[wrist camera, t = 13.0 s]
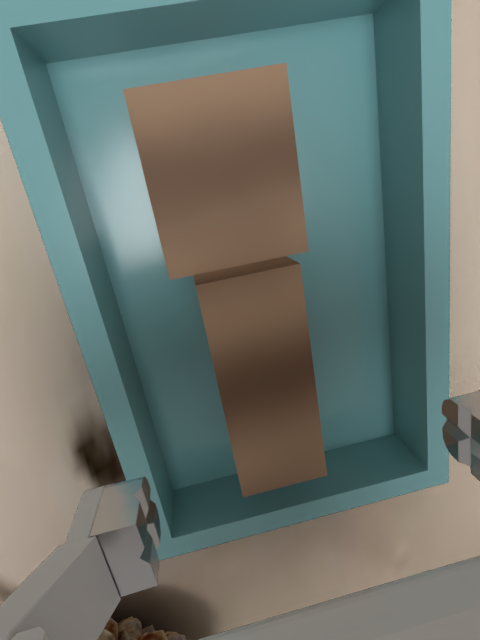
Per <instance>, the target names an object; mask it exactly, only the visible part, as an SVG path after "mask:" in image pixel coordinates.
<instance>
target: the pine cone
mask: <svg viewBox="0 0 480 640" xmlns="http://www.w3.org/2000/svg"><path fill="white" fill-rule="evenodd" d="M97 640H186V638H185V635H178V633H177V632H168V631H167V632H166V633H165V632H164V631H163V630H159V631H155V630H154V627H153V625H150V626H148V627H145V628H143V629H142V626H141V621H139V620H138V619H137V618H135V619H134V618H133V616H132V617H129V618H127V619H124V620H122V621H120V622H119V623H117V622H116V621H114V620H113V619H112V618H111V617H110V619H109V621H108V622H107V624H106V626H105V627H104V629H103V631H102V633H101V634H100V636H99V638H98V639H97Z"/></svg>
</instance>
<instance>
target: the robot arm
mask: <svg viewBox="0 0 480 640" xmlns="http://www.w3.org/2000/svg"><path fill="white" fill-rule="evenodd" d="M442 414H443V415H444V416H445V417H446V418H447V420H446V422H445V424H444V425H443V427H442V434H443V440H444V443H445V445H446V448H447V449H448V451H449V452H450V454H451V455H452V456H453V457H454V458H455V459H456V460H457V461H458V462H460V463H463V464H466V465H469V466H470V468H471V474H472V475H473V476H475V477H476V478H477V479H478V480H479V481H480V390H478V391H476V392H472V393H469V394H465V395H461V396H457V397H453V398H449V399H446V400H444V401H443V403H442ZM150 493H151V488H150V485H149V482H148V480H147V478H146V477H145V476H144V477H140V478H136V479H131V480H127V481H123V482H119V483H114V484H110V485H106V486H102V487H98V488H94V489H90V490H86V491H85V492H84V493H83V494H82V497H81V500H80V502H79V505H78V508H77V511H76V514H75V517H74V519H73V522H72V525H71V528H70V531H69V534H68V536H67V539H66V542H65V544H64V545H60V546H58V547H57V548H56V549H55V550H54V551H53V552H52V553H51V554H50V555H49V556H48V557H47V558H46V559H45V560H44V561H43V562H42V563H41V564H40V565H39V566H38V567H37V568H36V569H35V570H34V571H33V572H32V573H31V574H30V575H29V576H28V577H27V578H26V579H25V581H24V582H23V583H22V584H21V585H20V586H19V587H18V588H17V589H16V590H15V591H14V592H13V593H12V594H11V595H10V596H9V597H8V598H7V599H6V600H5V601H4V602H3V603H2V604H1V605H0V640H97V639H98V638H99V636H100V634H101V633H102V631H103V629H104V627H105V626H106V624H107V622H108V621H109V619H110V617H111V615H112V614H113V612H114V610H115V609H116V607H117V605H118V604H119V602H120V600H121V598H120V597H123V596H126V595H129V594H132V593H135V592H139V591H142V590H145V589H148V588H151V587H154V586H157V585H158V571H159V557H158V554H157V551H156V549H157V547H158V546H159V544H160V539H161V529H160V519H159V514H158V510H157V507H156V503H154V502H153V501H151V500H150ZM197 640H480V556H477V557H473V558H470V559H466V560H463V561H460V562H456V563H453V564H450V565H446V566H443V567H439V568H436V569H433V570H429V571H426V572H423V573H419V574H416V575H412V576H409V577H406V578H402V579H399V580H396V581H392V582H389V583H385V584H382V585H379V586H375V587H372V588H369V589H365V590H362V591H359V592H355V593H352V594H348V595H345V596H342V597H338V598H335V599H332V600H328V601H325V602H322V603H318V604H315V605H312V606H308V607H305V608H301V609H298V610H295V611H291V612H288V613H285V614H281V615H278V616H275V617H271V618H268V619H265V620H261V621H258V622H255V623H251V624H248V625H245V626H241V627H238V628H234V629H231V630H228V631H224V632H221V633H218V634H214V635H211V636H208V637H204V638H201V639H197Z"/></svg>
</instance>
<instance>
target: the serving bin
mask: <svg viewBox="0 0 480 640" xmlns="http://www.w3.org/2000/svg"><path fill="white" fill-rule="evenodd" d="M281 63H287V72H288V80H289V89H290V97H291V105H292V114H293V122H294V131H295V139H296V148H297V156H298V165H299V173H300V181H301V190H302V198H303V207H304V215H305V224H306V232H307V241H308V249H309V251H308V252H303V253H298V254H293V255H288V256H287V257H289V258H291V259H293V260H295V261H297V262H298V263H300V265H301V273H302V281H303V288H304V296H305V304H306V312H307V320H308V328H309V336H310V343H311V351H312V359H313V367H314V375H315V383H316V391H317V399H318V406H319V414H320V422H321V430H322V438H323V446H324V454H325V461H326V469H327V476H323V477H319V478H315V479H311V480H308V481H304V482H300V483H296V484H292V485H289V486H285V487H281V488H277V489H273V490H269V491H266V492H262V493H258V494H254V495H250V496H247V497H243V495H242V491H241V486H240V482H239V477H238V473H237V468H236V464H235V460H234V455H233V451H232V446H231V442H230V437H229V433H228V428H227V424H226V419H225V415H224V411H223V406H222V402H221V397H220V393H219V388H218V384H217V379H216V375H215V370H214V366H213V362H212V357H211V353H210V348H209V344H208V339H207V335H206V330H205V326H204V321H203V317H202V313H201V308H200V304H199V299H198V295H197V290H196V286H195V280H194V275H192V276H188V277H183V278H178V279H173V280H170V279H169V275H168V271H167V266H166V262H165V258H164V254H163V250H162V246H161V242H160V238H159V234H158V230H157V226H156V222H155V218H154V214H153V210H152V206H151V202H150V197H149V193H148V189H147V185H146V181H145V177H144V173H143V169H142V165H141V161H140V157H139V153H138V149H137V145H136V141H135V137H134V133H133V128H132V124H131V120H130V116H129V112H128V108H127V104H126V100H125V96H124V92H123V89H127V88H133V87H139V86H146V85H152V84H158V83H164V82H170V81H176V80H182V79H189V78H195V77H201V76H207V75H213V74H219V73H225V72H231V71H238V70H244V69H250V68H256V67H262V66H268V65H274V64H281ZM0 119H1V122H2V124H3V127H4V130H5V133H6V136H7V139H8V142H9V145H10V147H11V150H12V153H13V156H14V159H15V162H16V165H17V168H18V170H19V173H20V176H21V179H22V182H23V185H24V188H25V191H26V193H27V196H28V199H29V202H30V205H31V208H32V211H33V214H34V216H35V219H36V222H37V225H38V228H39V231H40V234H41V237H42V239H43V242H44V245H45V248H46V251H47V254H48V257H49V260H50V263H51V265H52V268H53V271H54V274H55V277H56V280H57V283H58V286H59V288H60V291H61V294H62V297H63V300H64V303H65V306H66V309H67V311H68V314H69V317H70V320H71V323H72V326H73V329H74V332H75V334H76V337H77V340H78V343H79V346H80V349H81V352H82V355H83V357H84V360H85V363H86V366H87V369H88V372H89V375H90V378H91V380H92V383H93V386H94V389H95V392H96V395H97V398H98V401H99V403H100V406H101V409H102V412H103V415H104V418H105V421H106V424H107V427H108V429H109V432H110V435H111V438H112V441H113V444H114V447H115V450H116V452H117V455H118V458H119V461H120V464H121V467H122V470H123V473H124V475H125V478H126V481H127V480H131V479H136V478H140V477H144V476H145V477H146V478H147V480H148V482H149V485H150V488H151V493H150V500H151V501H153V502H154V503H156V507H157V510H158V514H159V519H160V529H161V539H160V544H159V546H158V547H157V549H156V551H157V554H158V557H159V561H160V560H163V559H167V558H171V557H174V556H178V555H182V554H186V553H189V552H193V551H197V550H200V549H204V548H208V547H211V546H215V545H219V544H222V543H226V542H230V541H234V540H237V539H241V538H245V537H248V536H252V535H256V534H259V533H263V532H267V531H270V530H274V529H278V528H282V527H285V526H289V525H293V524H296V523H300V522H304V521H307V520H311V519H315V518H318V517H322V516H326V515H330V514H333V513H337V512H341V511H344V510H348V509H352V508H355V507H359V506H363V505H366V504H370V503H374V502H378V501H381V500H385V499H389V498H392V497H396V496H400V495H403V494H407V493H411V492H414V491H418V490H422V489H426V488H429V487H433V486H437V485H440V484H444V483H448V482H449V451H448V449H447V448H446V445H445V443H444V440H443V434H442V427H443V425H444V424H445V422H446V420H447V418H446V417H445V416H444V415H443V414H442V403H443V401H444V400H446V399H449V312H450V138H451V0H0Z"/></svg>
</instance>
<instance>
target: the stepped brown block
mask: <svg viewBox="0 0 480 640" xmlns="http://www.w3.org/2000/svg"><path fill="white" fill-rule="evenodd" d="M123 92H124V96H125V100H126V104H127V108H128V112H129V116H130V120H131V124H132V128H133V133H134V137H135V141H136V145H137V149H138V153H139V157H140V161H141V165H142V169H143V173H144V177H145V181H146V185H147V189H148V193H149V197H150V202H151V206H152V210H153V214H154V218H155V222H156V226H157V230H158V234H159V238H160V242H161V246H162V250H163V254H164V258H165V262H166V266H167V271H168V275H169V279H170V280H173V279H178V278H183V277H188V276H192V275H194V280H195V286H196V290H197V295H198V299H199V304H200V308H201V313H202V317H203V321H204V326H205V330H206V335H207V339H208V344H209V348H210V353H211V357H212V362H213V366H214V370H215V375H216V379H217V384H218V388H219V393H220V397H221V402H222V406H223V411H224V415H225V419H226V424H227V428H228V433H229V437H230V442H231V446H232V451H233V455H234V460H235V464H236V468H237V473H238V477H239V482H240V486H241V491H242V495H243V497H247V496H250V495H254V494H258V493H262V492H266V491H269V490H273V489H277V488H281V487H285V486H289V485H292V484H296V483H300V482H304V481H308V480H311V479H315V478H319V477H323V476H327V469H326V461H325V454H324V446H323V438H322V430H321V422H320V414H319V406H318V399H317V391H316V383H315V375H314V367H313V359H312V351H311V343H310V336H309V328H308V320H307V312H306V304H305V296H304V288H303V281H302V273H301V265H300V263H298V262H297V261H295V260H293V259H291V258H289V257H287V256H288V255H293V254H298V253H303V252H308V251H309V249H308V241H307V232H306V224H305V215H304V207H303V198H302V190H301V181H300V173H299V165H298V156H297V148H296V139H295V131H294V122H293V114H292V105H291V97H290V89H289V80H288V72H287V63H281V64H274V65H268V66H262V67H256V68H250V69H244V70H238V71H231V72H225V73H219V74H213V75H207V76H201V77H195V78H189V79H182V80H176V81H170V82H164V83H158V84H152V85H146V86H139V87H133V88H127V89H123Z"/></svg>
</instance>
